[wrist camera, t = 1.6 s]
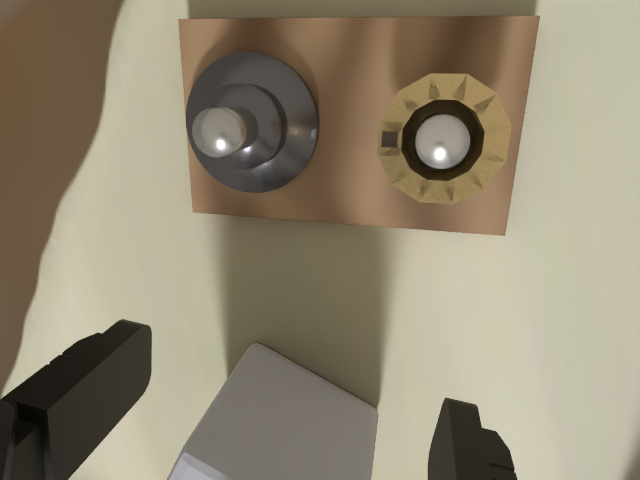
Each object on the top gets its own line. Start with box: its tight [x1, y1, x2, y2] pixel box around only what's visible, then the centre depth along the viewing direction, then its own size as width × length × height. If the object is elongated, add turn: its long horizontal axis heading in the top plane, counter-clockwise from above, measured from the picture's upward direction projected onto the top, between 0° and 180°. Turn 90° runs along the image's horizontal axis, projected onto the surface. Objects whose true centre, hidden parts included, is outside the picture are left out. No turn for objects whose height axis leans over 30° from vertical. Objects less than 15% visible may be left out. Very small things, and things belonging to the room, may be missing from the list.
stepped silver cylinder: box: [402, 100, 477, 171], centre depth 25 cm, size 5×5×6 cm
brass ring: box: [377, 73, 512, 204], centre depth 24 cm, size 6×6×3 cm
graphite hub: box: [186, 52, 320, 193], centre depth 27 cm, size 9×9×6 cm
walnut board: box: [178, 16, 540, 236], centre depth 30 cm, size 22×13×2 cm, turn 89°
